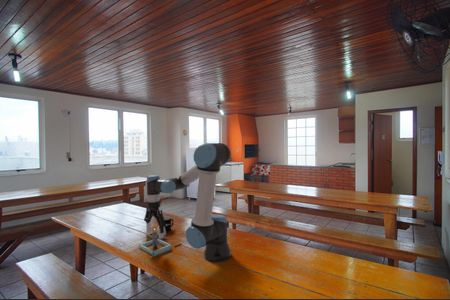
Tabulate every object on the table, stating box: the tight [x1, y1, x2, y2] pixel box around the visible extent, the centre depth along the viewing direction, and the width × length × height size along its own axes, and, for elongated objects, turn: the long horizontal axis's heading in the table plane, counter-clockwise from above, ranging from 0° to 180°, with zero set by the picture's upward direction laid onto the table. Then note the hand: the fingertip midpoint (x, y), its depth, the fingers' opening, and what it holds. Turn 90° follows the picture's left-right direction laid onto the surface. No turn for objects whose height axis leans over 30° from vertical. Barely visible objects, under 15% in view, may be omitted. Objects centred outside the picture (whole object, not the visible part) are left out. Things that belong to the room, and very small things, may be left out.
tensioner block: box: [145, 225, 167, 242], centre depth 168 cm, size 8×12×9 cm, turn 137°
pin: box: [151, 227, 159, 250], centre depth 153 cm, size 3×3×12 cm
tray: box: [138, 239, 173, 258], centre depth 153 cm, size 16×13×3 cm
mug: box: [163, 215, 174, 233], centre depth 186 cm, size 12×9×10 cm
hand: (154, 235), depth 153 cm, fingers open, 13 cm apart
